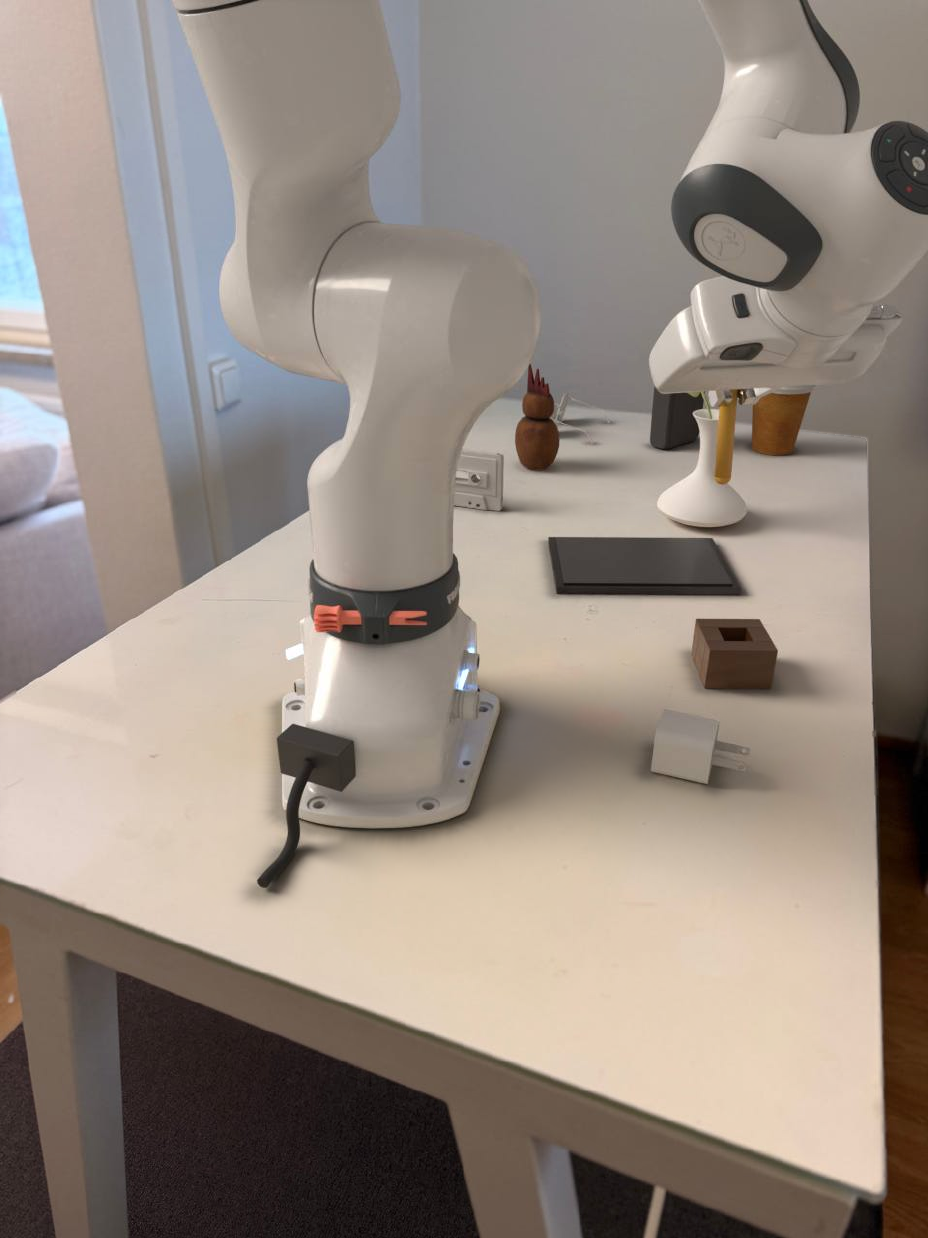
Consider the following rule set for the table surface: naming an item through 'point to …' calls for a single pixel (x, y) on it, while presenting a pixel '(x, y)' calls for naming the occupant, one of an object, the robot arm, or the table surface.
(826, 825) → the table surface
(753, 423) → the disposable coffee cup
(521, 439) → the wooden figurine
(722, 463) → the stylus
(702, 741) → the usb wall charger
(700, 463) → the flower in vase
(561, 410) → the clear eyeglasses
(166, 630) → the table surface
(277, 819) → the table surface
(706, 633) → the pen holder
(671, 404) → the card reader
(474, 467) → the cassette
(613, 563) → the tablet
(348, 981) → the table surface
